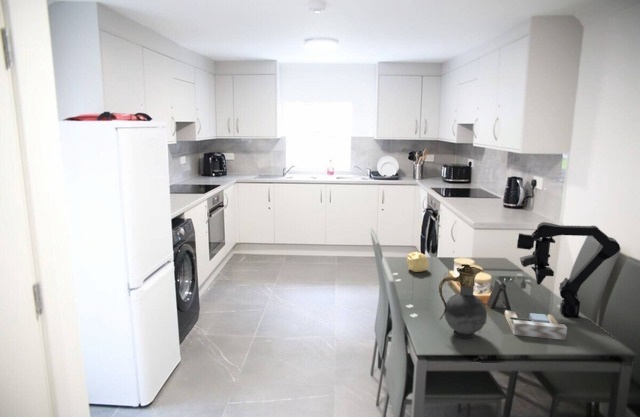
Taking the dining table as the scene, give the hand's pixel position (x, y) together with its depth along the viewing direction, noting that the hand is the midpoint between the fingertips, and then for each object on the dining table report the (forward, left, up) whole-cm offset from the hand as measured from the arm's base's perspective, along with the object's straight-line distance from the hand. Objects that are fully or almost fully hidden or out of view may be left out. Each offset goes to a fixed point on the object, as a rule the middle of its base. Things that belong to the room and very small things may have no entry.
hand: (538, 284), depth 194 cm
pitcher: (+36, +33, -12) cm, 50 cm away
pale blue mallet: (+8, +20, -12) cm, 25 cm away
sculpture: (+53, -42, -12) cm, 69 cm away
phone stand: (+16, 0, -12) cm, 20 cm away
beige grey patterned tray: (+5, +19, -12) cm, 23 cm away
